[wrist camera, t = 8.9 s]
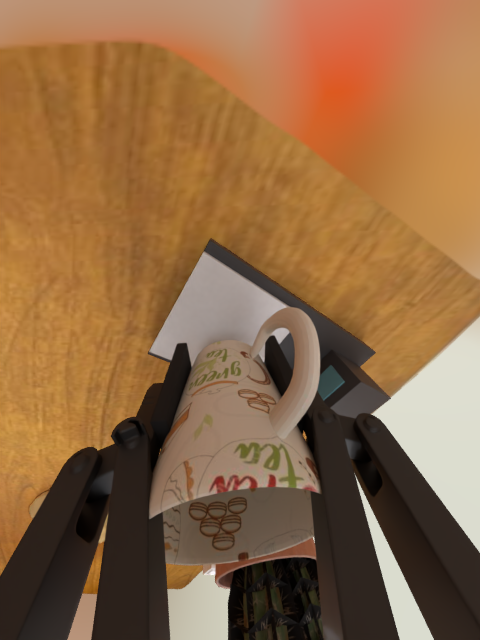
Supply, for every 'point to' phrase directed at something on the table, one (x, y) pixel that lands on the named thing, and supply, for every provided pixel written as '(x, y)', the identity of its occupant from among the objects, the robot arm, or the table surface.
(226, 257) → the scale
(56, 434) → the table surface
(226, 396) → the mug
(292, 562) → the potted plant
